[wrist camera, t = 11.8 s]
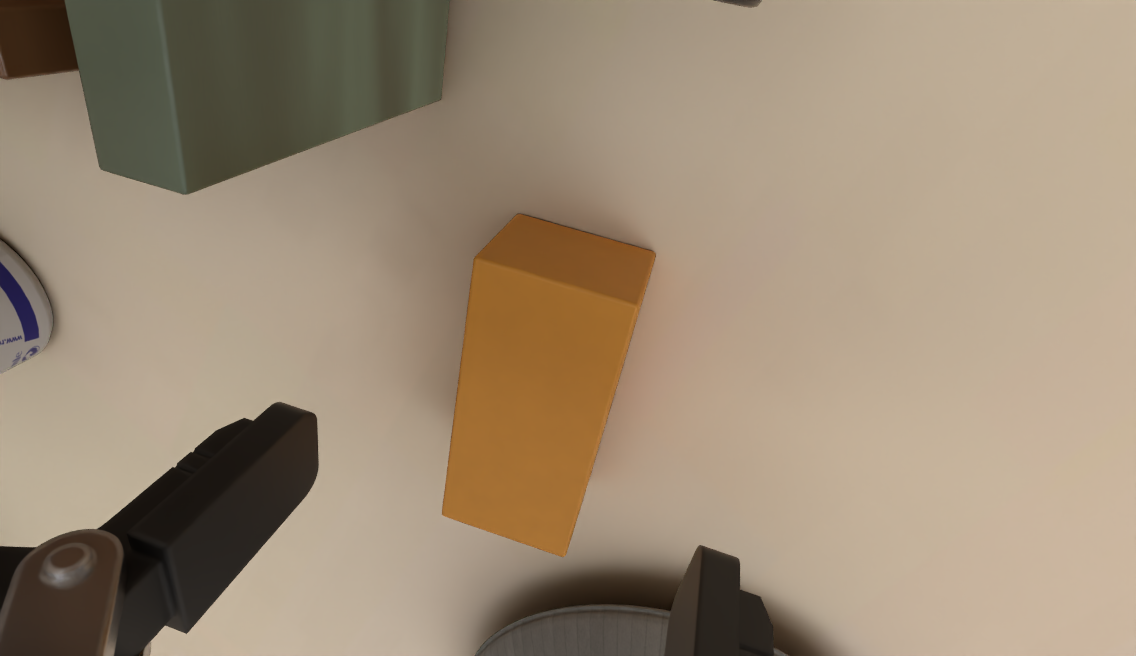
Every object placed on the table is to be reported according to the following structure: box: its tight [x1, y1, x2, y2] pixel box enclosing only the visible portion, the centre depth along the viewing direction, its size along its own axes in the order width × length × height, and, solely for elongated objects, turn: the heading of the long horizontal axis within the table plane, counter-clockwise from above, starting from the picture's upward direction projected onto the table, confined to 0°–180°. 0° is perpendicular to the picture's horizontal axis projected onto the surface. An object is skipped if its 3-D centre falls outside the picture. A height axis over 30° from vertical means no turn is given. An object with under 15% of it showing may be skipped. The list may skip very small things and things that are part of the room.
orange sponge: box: [442, 214, 656, 557], centre depth 16 cm, size 8×4×3 cm, turn 168°
